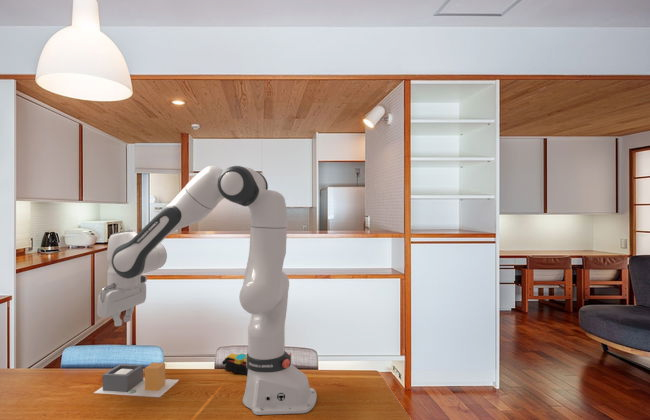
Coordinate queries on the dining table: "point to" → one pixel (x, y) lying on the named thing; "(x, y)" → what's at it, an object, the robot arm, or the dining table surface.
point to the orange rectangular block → (154, 376)
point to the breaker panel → (130, 382)
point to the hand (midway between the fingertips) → (123, 323)
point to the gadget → (236, 363)
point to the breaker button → (124, 371)
